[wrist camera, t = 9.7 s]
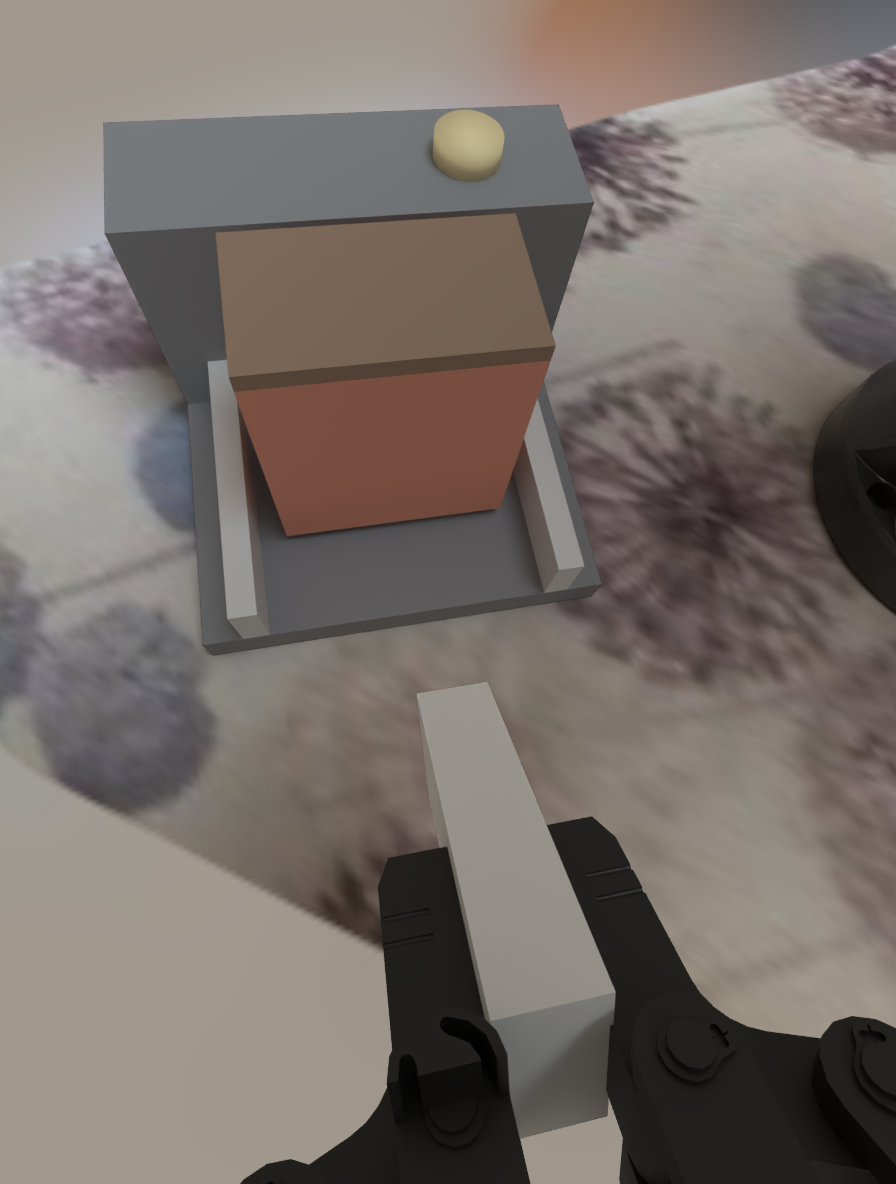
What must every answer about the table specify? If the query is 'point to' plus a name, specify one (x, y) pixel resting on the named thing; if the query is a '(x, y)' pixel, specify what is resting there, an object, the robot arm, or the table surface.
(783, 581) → the table surface
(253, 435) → the orange brown-topped block
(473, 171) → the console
